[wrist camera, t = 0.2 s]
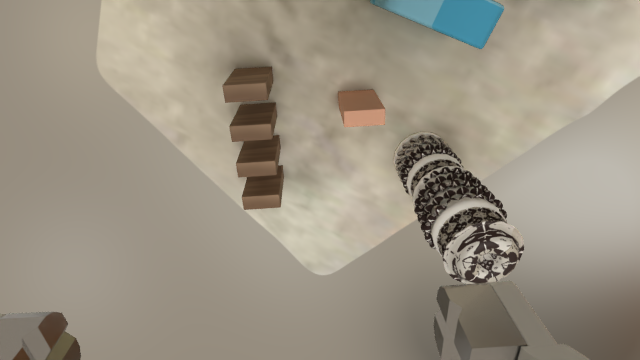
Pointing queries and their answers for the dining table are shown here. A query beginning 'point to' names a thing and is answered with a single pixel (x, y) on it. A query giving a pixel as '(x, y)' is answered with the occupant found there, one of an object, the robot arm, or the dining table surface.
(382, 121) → the domino
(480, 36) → the data package
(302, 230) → the dining table surface
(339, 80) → the dining table surface
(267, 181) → the domino
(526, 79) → the dining table surface
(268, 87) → the domino
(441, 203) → the decorative candle
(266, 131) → the domino
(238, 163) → the domino
